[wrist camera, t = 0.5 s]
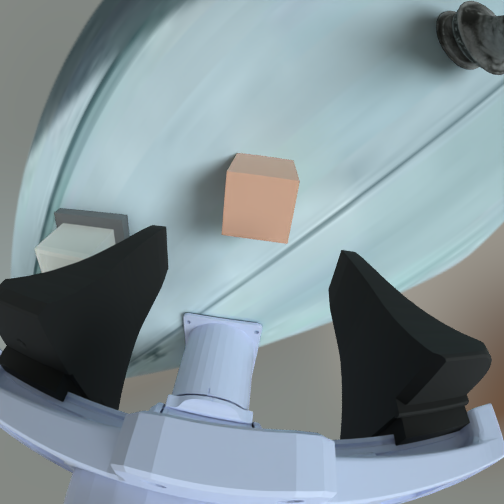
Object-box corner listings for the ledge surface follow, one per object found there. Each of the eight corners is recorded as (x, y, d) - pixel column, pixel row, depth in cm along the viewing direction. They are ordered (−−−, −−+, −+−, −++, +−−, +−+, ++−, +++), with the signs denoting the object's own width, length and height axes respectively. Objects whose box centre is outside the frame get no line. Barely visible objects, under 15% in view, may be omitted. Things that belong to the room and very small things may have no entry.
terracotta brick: (284, 210, 21) (287, 243, 17) (232, 203, 21) (221, 234, 17) (293, 160, 19) (299, 181, 15) (237, 152, 19) (226, 171, 15)
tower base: (136, 287, 27) (114, 326, 22) (75, 274, 27) (49, 307, 22) (127, 215, 22) (94, 249, 18) (59, 208, 22) (24, 236, 18)
